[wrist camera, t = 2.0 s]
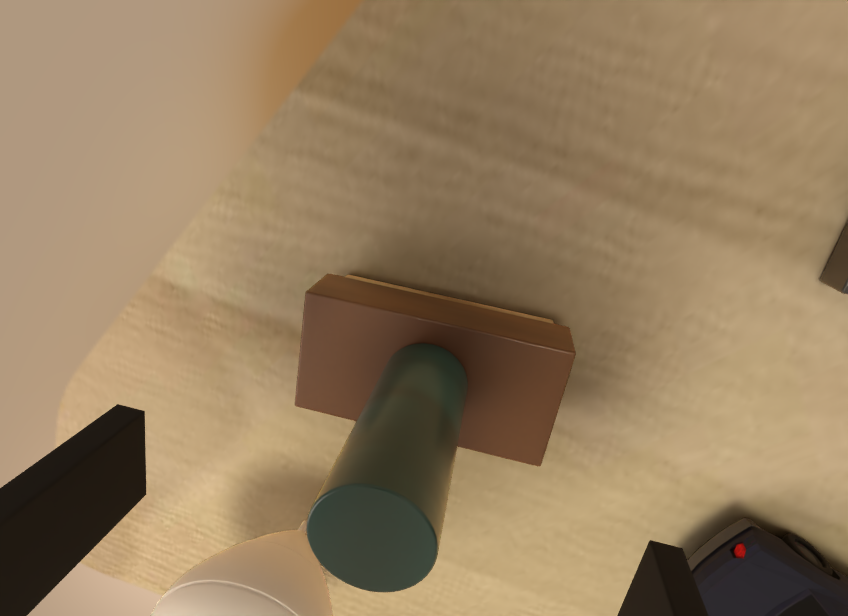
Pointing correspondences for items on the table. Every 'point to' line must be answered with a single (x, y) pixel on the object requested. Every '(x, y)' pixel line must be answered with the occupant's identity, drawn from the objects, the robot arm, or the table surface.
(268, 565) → the spinning top
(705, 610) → the robot arm
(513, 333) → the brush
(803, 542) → the toy car
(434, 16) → the table surface
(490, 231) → the table surface
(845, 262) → the slate board
